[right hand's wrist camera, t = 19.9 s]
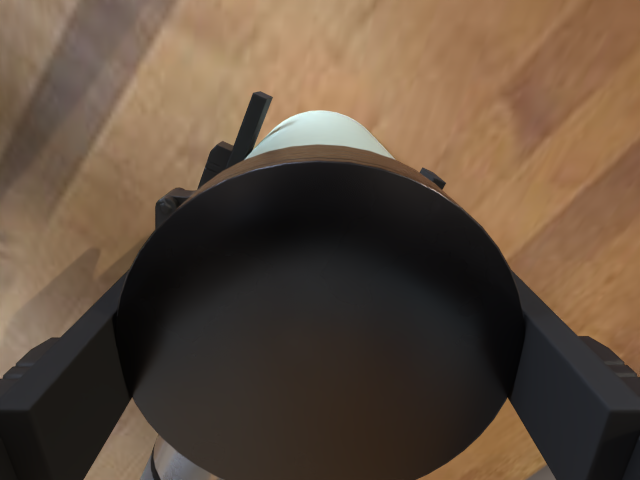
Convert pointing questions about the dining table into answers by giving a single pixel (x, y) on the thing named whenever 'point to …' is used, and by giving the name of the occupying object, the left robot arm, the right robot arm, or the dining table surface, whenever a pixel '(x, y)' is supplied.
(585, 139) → the dining table surface
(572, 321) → the dining table surface
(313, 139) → the jar
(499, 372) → the lid
